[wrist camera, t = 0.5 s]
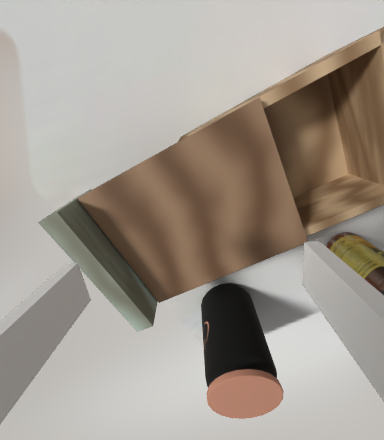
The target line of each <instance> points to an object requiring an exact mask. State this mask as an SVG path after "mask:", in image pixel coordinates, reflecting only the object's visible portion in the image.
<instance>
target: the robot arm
mask: <svg viewBox="0 0 384 440" xmlns="http://www.w3.org/2000/svg"><path fill="white" fill-rule="evenodd" d="M302 285H303V286H304V288H305V289H306V291H307V292H308V293H309V295H310V296H311V298H312V299H313V301H314V302H315V304H316V305H317V306H318V308H319V309H320V311H321V312H322V314H323V315H324V316H325V318H326V319H327V321H328V322H329V324H330V325H331V327H332V328H333V329H334V331H335V332H336V334H337V335H338V336H339V338H340V339H341V341H342V342H343V343H344V345H345V347H346V348H347V349H348V351H349V352H350V354H351V355H352V357H353V358H354V360H355V361H356V362H357V364H358V365H359V366H360V368H361V370H362V371H363V373H364V374H365V375H366V377H367V378H368V380H369V381H370V383H371V384H372V385H373V387H374V388H375V390H376V391H377V393H378V394H379V396H380V397H381V398H382V400H383V401H384V291H378V290H377V289H375V288H374V287H373V286H372V285H371V284H369V283H368V282H367V281H366V280H365V279H364V278H362V277H361V276H360V275H359V274H358V273H356V272H355V271H354V270H353V269H352V268H351V267H349V266H348V265H347V264H346V263H345V262H343V261H342V260H341V259H340V258H339V257H338V256H336V255H335V254H334V253H333V252H332V251H330V250H329V249H328V248H327V247H326V246H325V245H323V244H322V243H321V242H320V241H312V242H304V260H303V282H302ZM90 300H91V299H90V297H89V294H88V291H87V288H86V285H85V282H84V279H83V276H82V274H81V271H80V268H79V265H78V263H71V264H65V265H64V266H63V267H62V268H61V269H59V270H58V271H57V272H56V273H55V274H54V275H53V276H51V277H50V278H49V279H48V280H47V281H46V282H44V283H43V284H42V285H41V286H40V287H39V288H37V289H36V290H35V291H34V292H33V293H32V294H31V295H29V296H28V297H27V298H26V299H25V300H24V301H22V302H21V303H20V304H19V305H18V306H17V307H16V308H14V309H13V310H12V311H11V312H10V313H9V314H8V315H6V316H5V317H4V318H3V319H2V320H1V321H0V424H1V423H2V421H3V420H4V418H5V417H6V416H7V414H8V413H9V411H10V410H11V409H12V408H13V406H14V405H15V403H16V402H17V401H18V399H19V398H20V396H21V395H22V394H23V392H24V391H25V389H26V388H27V387H28V386H29V384H30V383H31V381H32V380H33V379H34V377H35V376H36V375H37V373H38V372H39V370H40V369H41V368H42V366H43V365H44V363H45V362H46V361H47V360H48V358H49V357H50V355H51V354H52V352H53V351H54V350H55V349H56V347H57V346H58V344H59V343H60V342H61V340H62V339H63V338H64V336H65V335H66V333H67V332H68V331H69V329H70V328H71V326H72V325H73V324H74V322H75V321H76V320H77V318H78V317H79V316H80V314H81V313H82V311H83V310H84V308H85V307H86V306H87V304H88V303H89V302H90Z"/></svg>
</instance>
